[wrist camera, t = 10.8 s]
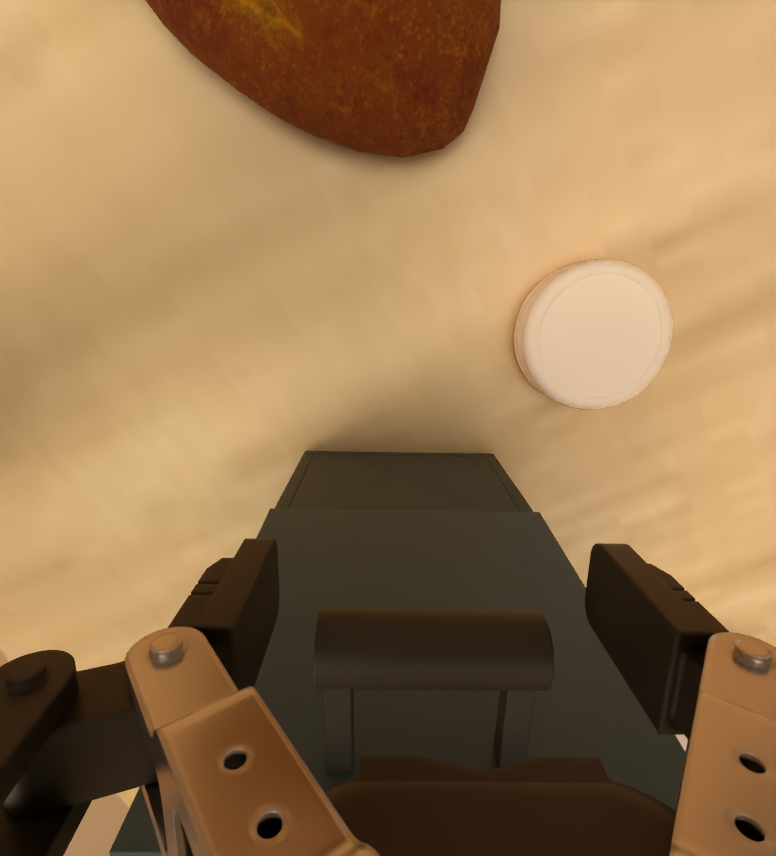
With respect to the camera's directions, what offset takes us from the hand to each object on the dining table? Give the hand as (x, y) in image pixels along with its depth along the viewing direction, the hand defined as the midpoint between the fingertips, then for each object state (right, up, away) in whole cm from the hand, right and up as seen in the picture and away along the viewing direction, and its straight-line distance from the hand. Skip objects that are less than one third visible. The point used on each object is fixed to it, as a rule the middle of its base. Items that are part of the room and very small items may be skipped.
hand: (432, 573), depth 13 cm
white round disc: (+13, +11, +24) cm, 29 cm away
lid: (0, -4, +7) cm, 8 cm away
